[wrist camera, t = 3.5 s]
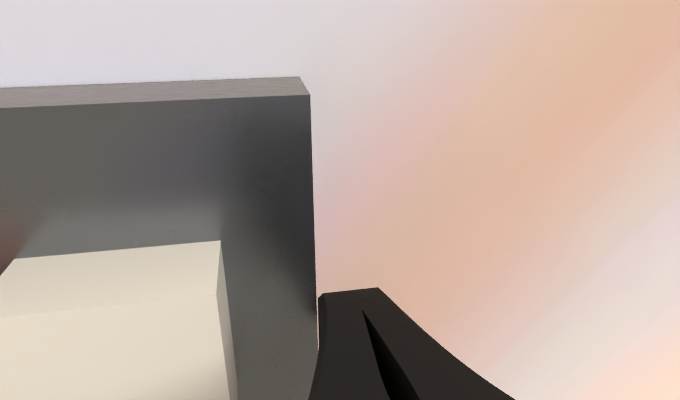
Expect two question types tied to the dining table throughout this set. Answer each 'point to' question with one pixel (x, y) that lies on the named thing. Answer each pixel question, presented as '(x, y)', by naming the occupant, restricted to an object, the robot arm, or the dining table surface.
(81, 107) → the slate plate
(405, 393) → the robot arm
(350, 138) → the dining table surface
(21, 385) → the tile
